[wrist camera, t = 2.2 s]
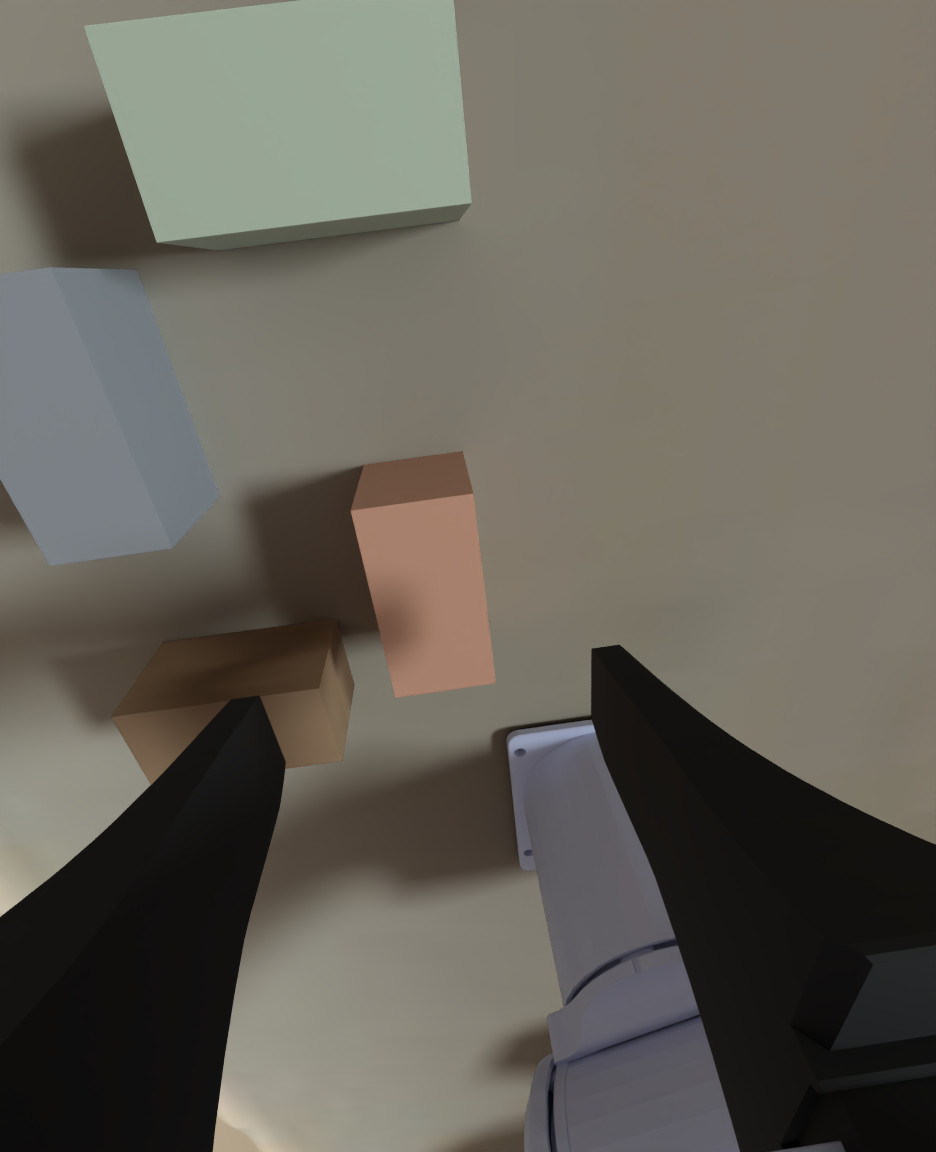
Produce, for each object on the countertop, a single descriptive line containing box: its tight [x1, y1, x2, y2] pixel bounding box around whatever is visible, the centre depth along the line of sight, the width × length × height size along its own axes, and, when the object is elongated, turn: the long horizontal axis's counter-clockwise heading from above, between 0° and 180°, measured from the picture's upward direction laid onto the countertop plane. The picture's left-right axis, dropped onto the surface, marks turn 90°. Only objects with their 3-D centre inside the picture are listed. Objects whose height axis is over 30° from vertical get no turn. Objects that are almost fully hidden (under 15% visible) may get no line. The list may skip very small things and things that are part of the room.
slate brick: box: [0, 267, 220, 566], centre depth 14 cm, size 6×3×4 cm, turn 7°
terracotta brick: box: [351, 451, 496, 698], centre depth 17 cm, size 6×3×4 cm, turn 7°
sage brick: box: [84, 0, 471, 251], centre depth 12 cm, size 6×3×4 cm, turn 96°
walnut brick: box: [111, 619, 354, 784], centre depth 19 cm, size 6×3×4 cm, turn 96°
